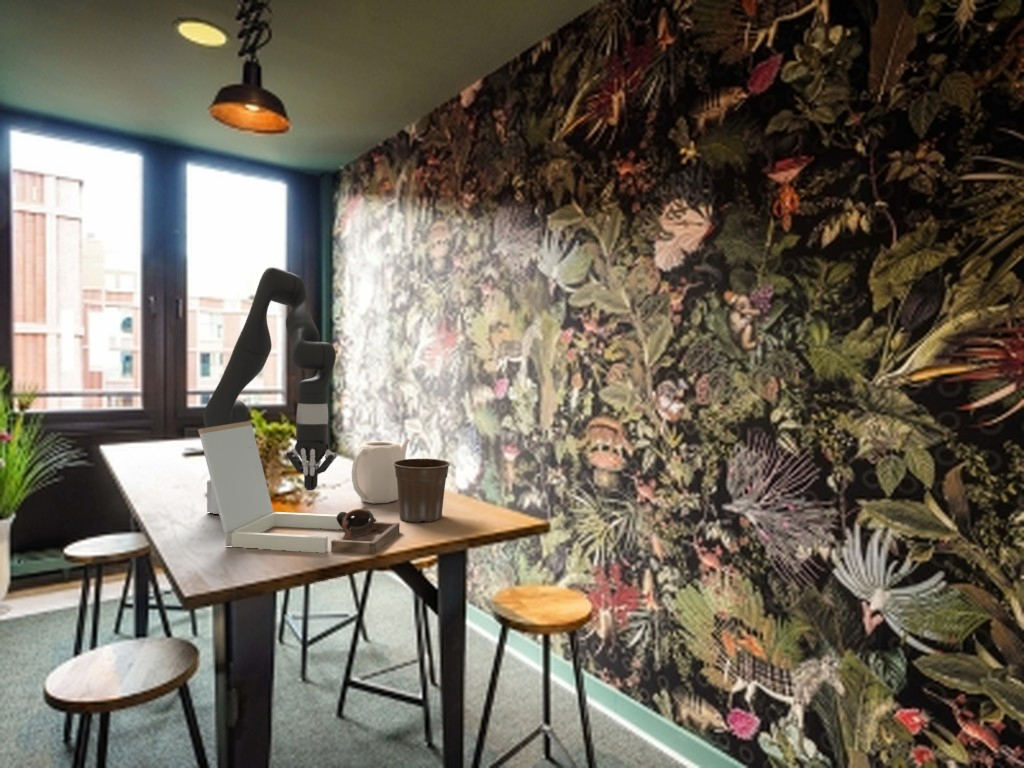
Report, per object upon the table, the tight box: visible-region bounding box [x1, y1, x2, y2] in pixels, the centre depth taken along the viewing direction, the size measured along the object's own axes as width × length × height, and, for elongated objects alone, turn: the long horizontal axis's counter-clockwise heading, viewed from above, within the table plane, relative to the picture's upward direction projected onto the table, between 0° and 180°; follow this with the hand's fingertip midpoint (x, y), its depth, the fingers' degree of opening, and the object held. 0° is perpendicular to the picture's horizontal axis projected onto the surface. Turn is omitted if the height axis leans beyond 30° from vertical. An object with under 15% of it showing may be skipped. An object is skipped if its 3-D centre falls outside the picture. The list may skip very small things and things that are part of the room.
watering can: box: [351, 438, 410, 505], centre depth 196 cm, size 16×27×19 cm, turn 150°
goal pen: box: [330, 521, 400, 555], centre depth 150 cm, size 11×18×2 cm, turn 172°
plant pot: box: [393, 458, 451, 523], centre depth 174 cm, size 16×16×16 cm
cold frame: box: [197, 420, 354, 554], centre depth 152 cm, size 32×21×28 cm, turn 82°
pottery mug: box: [336, 508, 377, 540], centre depth 153 cm, size 12×10×8 cm
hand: (310, 489), depth 151 cm, fingers closed
